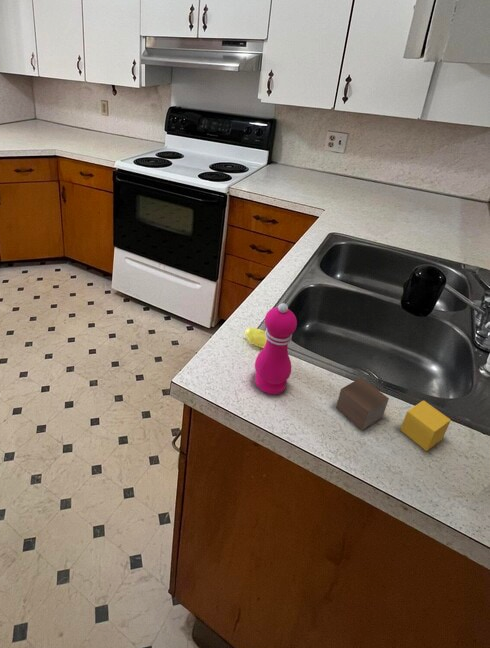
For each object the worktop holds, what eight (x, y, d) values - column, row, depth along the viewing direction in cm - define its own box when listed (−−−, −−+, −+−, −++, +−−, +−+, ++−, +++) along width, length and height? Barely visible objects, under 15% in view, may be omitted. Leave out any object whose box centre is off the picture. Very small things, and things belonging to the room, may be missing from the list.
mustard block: (416, 418, 81) (423, 399, 79) (442, 439, 77) (451, 419, 75) (400, 430, 79) (407, 410, 77) (426, 451, 75) (434, 431, 73)
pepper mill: (245, 376, 90) (256, 298, 81) (272, 366, 93) (285, 289, 84) (267, 401, 84) (281, 320, 75) (295, 389, 87) (312, 309, 78)
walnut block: (356, 395, 86) (361, 377, 84) (382, 417, 81) (389, 398, 79) (335, 407, 83) (340, 388, 81) (362, 430, 78) (368, 411, 76)
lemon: (269, 357, 95) (272, 344, 93) (240, 340, 100) (242, 327, 98) (279, 348, 98) (282, 335, 96) (250, 332, 103) (252, 319, 101)
